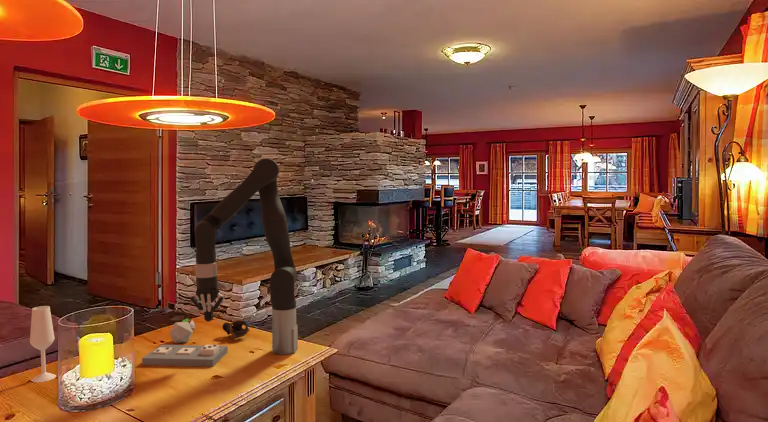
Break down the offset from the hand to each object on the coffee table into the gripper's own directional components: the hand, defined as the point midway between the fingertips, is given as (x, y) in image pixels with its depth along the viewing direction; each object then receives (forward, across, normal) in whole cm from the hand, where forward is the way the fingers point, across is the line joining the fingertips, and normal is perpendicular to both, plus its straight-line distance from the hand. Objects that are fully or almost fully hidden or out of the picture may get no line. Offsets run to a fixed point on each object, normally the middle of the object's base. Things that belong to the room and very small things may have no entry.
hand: (208, 320), depth 177 cm
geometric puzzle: (+14, +22, -28) cm, 38 cm away
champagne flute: (+13, +49, +20) cm, 54 cm away
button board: (+14, +9, 0) cm, 17 cm away
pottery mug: (+15, -1, -25) cm, 29 cm away
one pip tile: (+14, +9, 0) cm, 17 cm away
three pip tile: (+13, 0, 0) cm, 13 cm away
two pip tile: (+14, +18, 0) cm, 23 cm away
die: (+14, +20, -18) cm, 30 cm away
